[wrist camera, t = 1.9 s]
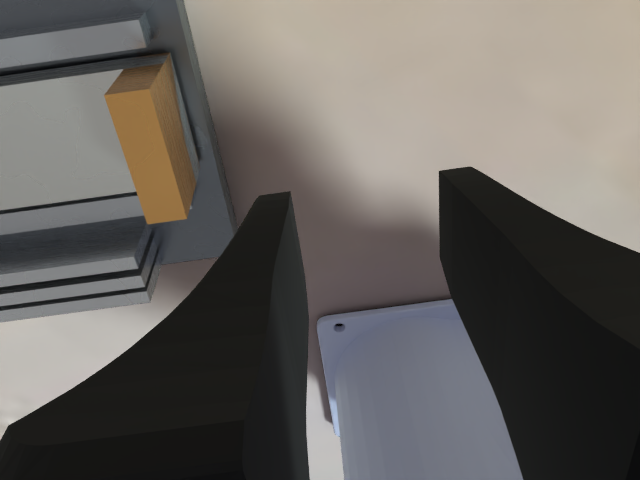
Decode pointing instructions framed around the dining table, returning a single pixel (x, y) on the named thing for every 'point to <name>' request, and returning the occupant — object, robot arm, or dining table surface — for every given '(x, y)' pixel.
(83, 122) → the grey orange block
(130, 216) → the heatsink plate
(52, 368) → the dining table surface
